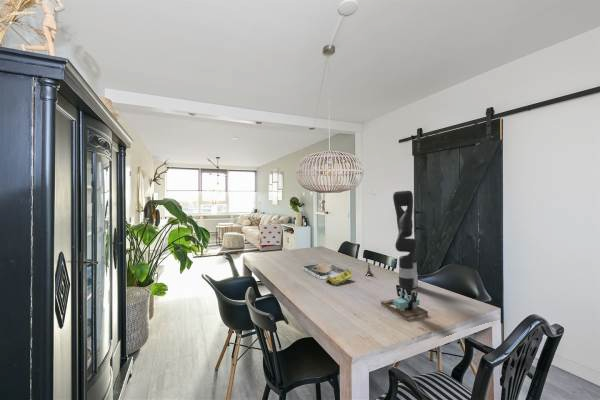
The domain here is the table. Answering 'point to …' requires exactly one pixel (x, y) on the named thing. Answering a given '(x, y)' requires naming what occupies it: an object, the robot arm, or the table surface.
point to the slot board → (404, 314)
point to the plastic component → (340, 277)
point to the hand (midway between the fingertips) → (406, 307)
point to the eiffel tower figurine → (369, 272)
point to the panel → (404, 303)
